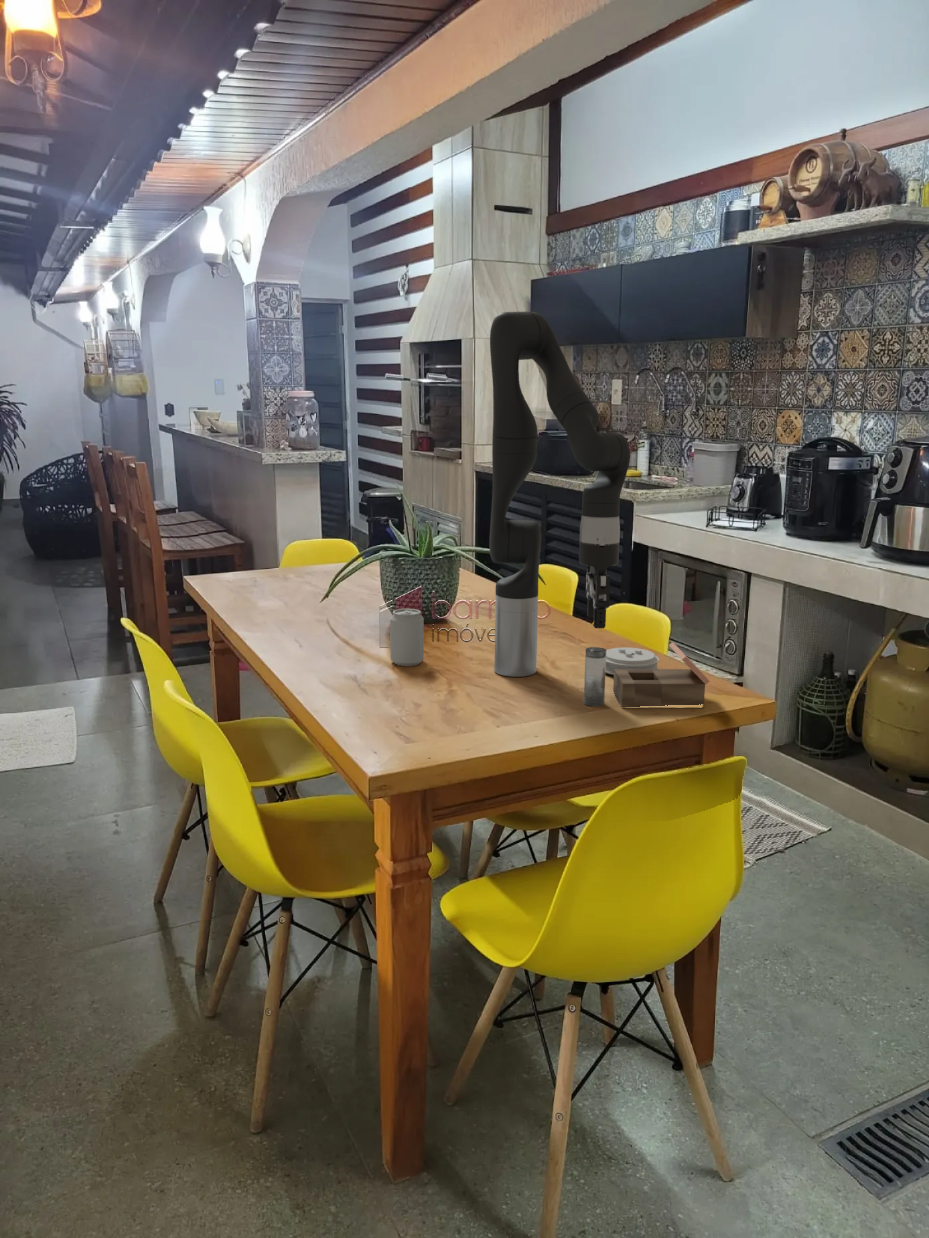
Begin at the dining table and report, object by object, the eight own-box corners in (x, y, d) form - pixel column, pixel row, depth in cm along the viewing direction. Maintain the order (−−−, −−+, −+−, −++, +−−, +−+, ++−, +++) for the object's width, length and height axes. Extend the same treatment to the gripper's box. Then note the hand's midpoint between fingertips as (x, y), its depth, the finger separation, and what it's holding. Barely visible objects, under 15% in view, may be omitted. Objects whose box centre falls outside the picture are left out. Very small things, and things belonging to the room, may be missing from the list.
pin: (582, 700, 192) (584, 647, 189) (602, 700, 192) (604, 647, 189) (585, 706, 188) (587, 652, 185) (605, 706, 188) (608, 652, 185)
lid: (669, 673, 212) (670, 651, 210) (635, 684, 203) (637, 662, 202) (621, 661, 220) (622, 640, 219) (587, 672, 211) (588, 650, 210)
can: (385, 665, 215) (384, 612, 212) (398, 656, 222) (398, 606, 219) (415, 668, 213) (415, 615, 210) (428, 660, 219) (428, 608, 217)
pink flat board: (668, 645, 195) (672, 641, 195) (691, 668, 196) (695, 665, 196) (681, 659, 184) (685, 656, 184) (705, 684, 186) (709, 681, 186)
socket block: (613, 692, 197) (614, 669, 196) (690, 692, 197) (692, 669, 196) (621, 708, 187) (622, 683, 186) (703, 708, 187) (705, 683, 186)
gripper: (575, 534, 189) (572, 615, 193) (584, 544, 175) (581, 631, 179) (613, 534, 189) (609, 615, 193) (625, 545, 175) (621, 631, 179)
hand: (596, 622), depth 186 cm, fingers open, 8 cm apart
